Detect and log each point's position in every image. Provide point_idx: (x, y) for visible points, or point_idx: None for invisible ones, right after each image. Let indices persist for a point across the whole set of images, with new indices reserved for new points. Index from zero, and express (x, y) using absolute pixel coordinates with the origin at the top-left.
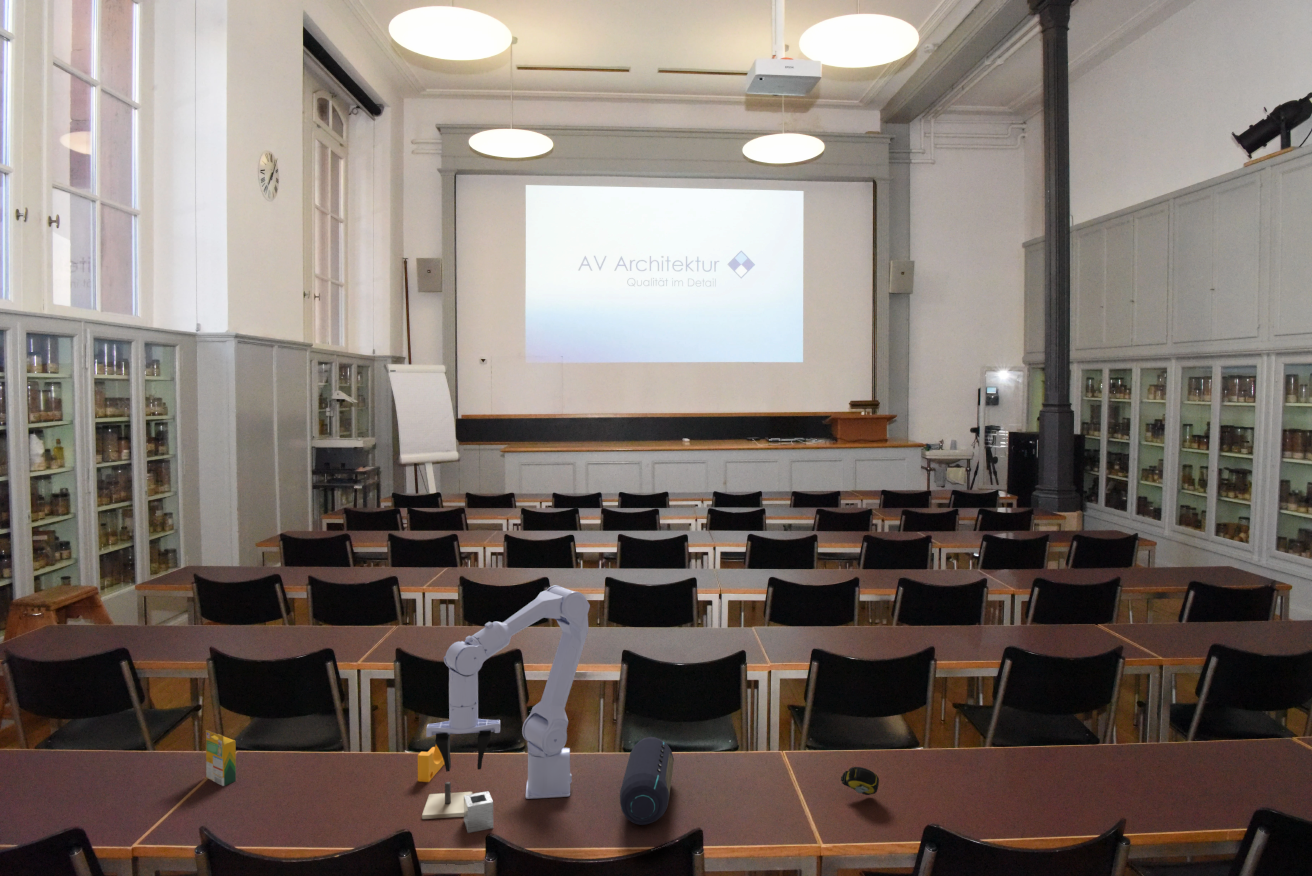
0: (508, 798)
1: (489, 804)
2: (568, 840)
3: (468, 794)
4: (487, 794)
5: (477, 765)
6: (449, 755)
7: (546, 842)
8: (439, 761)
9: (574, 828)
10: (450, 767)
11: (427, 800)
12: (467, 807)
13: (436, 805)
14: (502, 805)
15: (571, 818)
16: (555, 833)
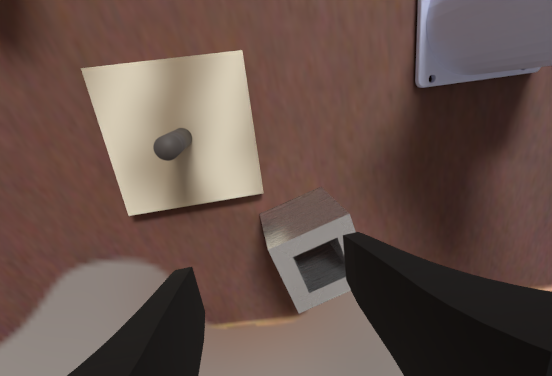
0: (363, 77)
1: None
2: (495, 272)
3: (234, 73)
4: None
5: (357, 301)
6: (177, 342)
7: None
8: None
9: (514, 228)
10: (193, 273)
11: (99, 120)
12: (297, 310)
13: (148, 154)
14: (350, 123)
15: (515, 187)
16: (474, 250)
